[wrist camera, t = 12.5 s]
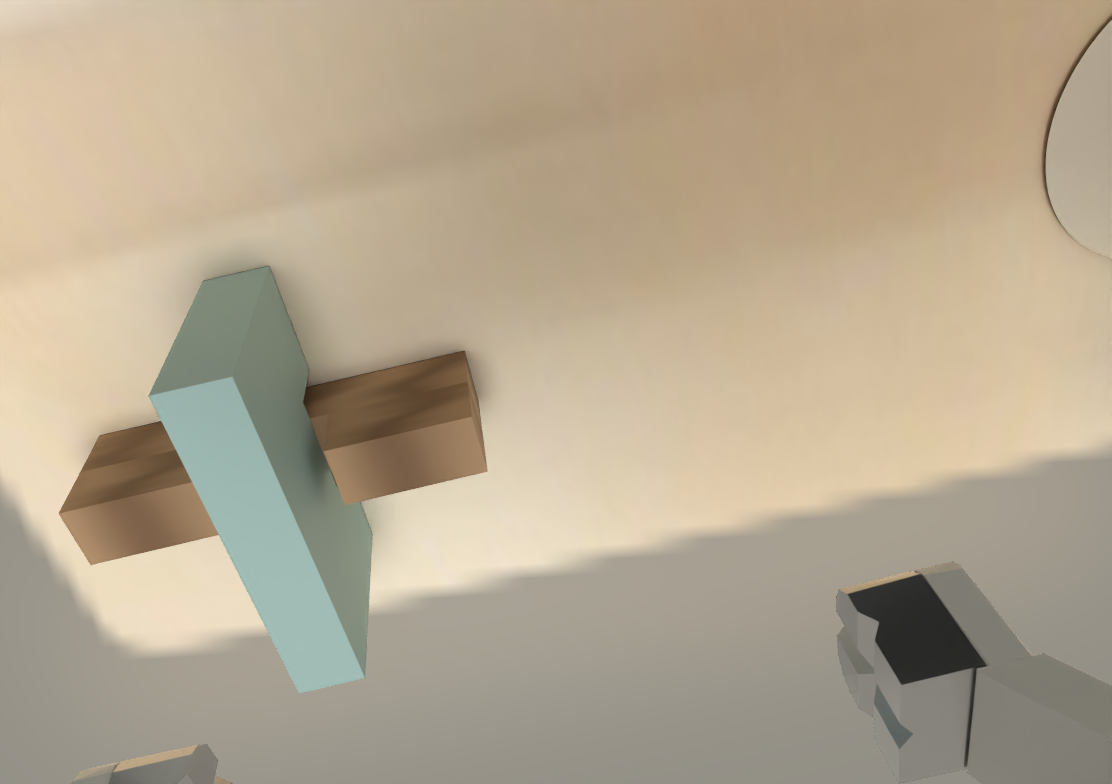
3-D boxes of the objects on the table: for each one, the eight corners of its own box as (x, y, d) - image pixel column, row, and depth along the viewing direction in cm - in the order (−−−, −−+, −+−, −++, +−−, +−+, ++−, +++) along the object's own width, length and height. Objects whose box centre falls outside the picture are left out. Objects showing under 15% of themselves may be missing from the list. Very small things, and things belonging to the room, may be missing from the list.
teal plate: (269, 265, 40) (232, 376, 32) (372, 533, 49) (364, 677, 40) (203, 280, 40) (148, 395, 32) (318, 546, 49) (298, 693, 40)
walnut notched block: (464, 350, 44) (471, 416, 39) (478, 401, 46) (487, 471, 40) (99, 435, 44) (58, 513, 38) (126, 484, 45) (90, 564, 40)
